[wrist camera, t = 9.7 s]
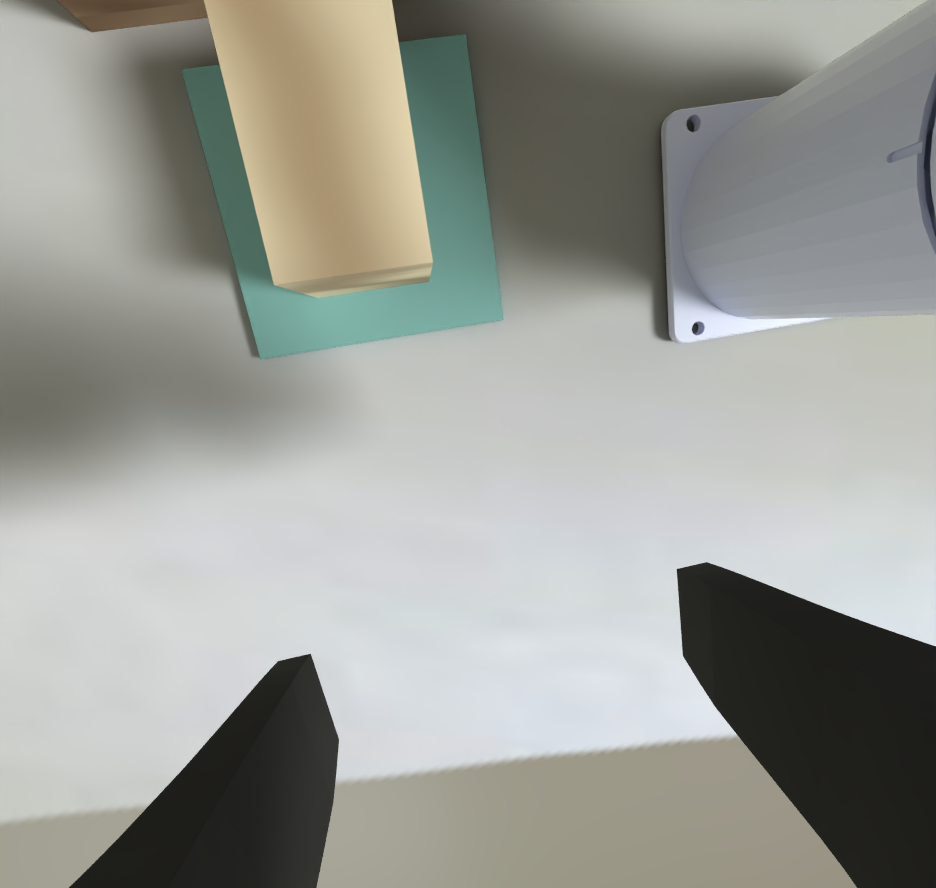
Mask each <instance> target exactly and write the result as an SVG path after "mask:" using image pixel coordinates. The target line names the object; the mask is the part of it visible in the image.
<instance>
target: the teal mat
mask: <svg viewBox="0 0 936 888" xmlns="http://www.w3.org/2000/svg"><path fill="white" fill-rule="evenodd" d="M399 49H400V55H401V61H402V68H403V74H404V81H405V87H406V93H407V100H408V106H409V112H410V119H411V125H412V131H413V138H414V144H415V151H416V157H417V163H418V170H419V176H420V182H421V189H422V195H423V201H424V208H425V214H426V221H427V227H428V233H429V240H430V246H431V252H432V259H433V265H432V270H431V275H430V280H429V282H424V283H417V284H411V285H404V286H397V287H390V288H383V289H377V290H370V291H363V292H356V293H349V294H343V295H336V296H329V297H322V298H316V297H312V296H309V295H306V294H302V293H299V292H296V291H292V290H289V289H286V288H282V287H279V286H276V285H274V283H273V279H272V275H271V271H270V267H269V263H268V258H267V254H266V250H265V246H264V242H263V238H262V234H261V230H260V226H259V222H258V218H257V214H256V210H255V206H254V202H253V198H252V194H251V190H250V185H249V181H248V177H247V173H246V169H245V165H244V161H243V157H242V153H241V149H240V145H239V141H238V137H237V133H236V129H235V125H234V121H233V116H232V112H231V108H230V104H229V100H228V96H227V92H226V88H225V84H224V80H223V76H222V72H221V68H220V64H218V65H210V66H202V67H194V68H186V69H181V71H182V75H183V78H184V82H185V86H186V89H187V93H188V97H189V100H190V104H191V108H192V111H193V115H194V118H195V122H196V126H197V129H198V133H199V137H200V140H201V144H202V148H203V151H204V155H205V159H206V162H207V166H208V169H209V173H210V177H211V180H212V184H213V188H214V191H215V195H216V199H217V202H218V206H219V210H220V213H221V217H222V221H223V224H224V228H225V231H226V235H227V239H228V242H229V246H230V250H231V253H232V257H233V261H234V264H235V268H236V272H237V275H238V279H239V282H240V286H241V290H242V293H243V297H244V301H245V304H246V308H247V312H248V315H249V319H250V323H251V326H252V330H253V334H254V337H255V341H256V344H257V348H258V352H259V355H260V359H267V358H273V357H279V356H285V355H291V354H297V353H303V352H309V351H315V350H322V349H328V348H334V347H340V346H346V345H352V344H358V343H364V342H371V341H377V340H383V339H389V338H395V337H401V336H407V335H413V334H419V333H426V332H432V331H438V330H444V329H450V328H456V327H462V326H468V325H474V324H481V323H487V322H493V321H499V320H503V312H502V305H501V297H500V290H499V282H498V274H497V267H496V259H495V252H494V244H493V236H492V229H491V221H490V214H489V206H488V198H487V191H486V183H485V176H484V168H483V160H482V153H481V145H480V138H479V130H478V122H477V115H476V107H475V100H474V92H473V84H472V77H471V69H470V62H469V54H468V46H467V39H466V34H460V35H452V36H444V37H436V38H428V39H420V40H412V41H404V42H399Z"/></svg>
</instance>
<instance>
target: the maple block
mask: <svg viewBox="0 0 936 888" xmlns="http://www.w3.org/2000/svg"><path fill="white" fill-rule="evenodd" d="M204 3H205V7H206V11H207V15H208V19H209V23H210V27H211V31H212V35H213V39H214V43H215V47H216V52H217V56H218V60H219V64H220V68H221V72H222V76H223V80H224V84H225V88H226V92H227V96H228V100H229V104H230V108H231V112H232V116H233V121H234V125H235V129H236V133H237V137H238V141H239V145H240V149H241V153H242V157H243V161H244V165H245V169H246V173H247V177H248V181H249V185H250V190H251V194H252V198H253V202H254V206H255V210H256V214H257V218H258V222H259V226H260V230H261V234H262V238H263V242H264V246H265V250H266V254H267V258H268V263H269V267H270V271H271V275H272V279H273V283H274V285H276V286H279V287H282V288H286V289H289V290H292V291H296V292H299V293H302V294H306V295H309V296H312V297H316V298H322V297H329V296H336V295H343V294H349V293H356V292H363V291H370V290H377V289H383V288H390V287H397V286H404V285H411V284H417V283H424V282H429V280H430V275H431V270H432V265H433V259H432V252H431V246H430V240H429V233H428V227H427V221H426V214H425V208H424V201H423V195H422V189H421V182H420V176H419V170H418V163H417V157H416V151H415V144H414V138H413V131H412V125H411V119H410V112H409V106H408V100H407V93H406V87H405V81H404V74H403V68H402V61H401V55H400V49H399V42H398V36H397V30H396V23H395V17H394V10H393V4H392V0H204Z"/></svg>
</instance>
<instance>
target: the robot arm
mask: <svg viewBox="0 0 936 888" xmlns="http://www.w3.org/2000/svg"><path fill="white" fill-rule="evenodd" d="M687 120H691V121H692V122H693V124H694V132H690V131H689V130H688V129H687V125H686V123H687ZM661 143H662V169H663V195H664V220H665V246H666V272H667V298H668V323H669V335H670V338H671V339H672V341H674V342H676V343H691V342H697V341H703V340H708V339H714V338H720V337H726V336H732V335H738V334H743V333H749V332H755V331H761V330H767V329H773V328H779V327H784V326H790V325H796V324H802V323H808V322H814V321H819V320H825V319H831V318H837V317H866V316H903V315H936V0H927V1H926V2H924V3H922V4H921V5H919V6H918V7H916V8H915V9H913V10H912V11H910V12H909V13H907V14H905V15H904V16H902V17H901V18H899V19H898V20H896V21H895V22H893V23H892V24H890V25H888V26H887V27H885V28H884V29H882V30H881V31H879V32H878V33H876V34H875V35H873V36H871V37H870V38H868V39H867V40H865V41H864V42H862V43H861V44H859V45H858V46H856V47H854V48H853V49H851V50H850V51H848V52H847V53H845V54H844V55H842V56H841V57H839V58H837V59H836V60H834V61H833V62H831V63H830V64H828V65H827V66H825V67H823V68H822V69H820V70H819V71H817V72H816V73H814V74H813V75H811V76H810V77H808V78H806V79H805V80H803V81H802V82H800V83H799V84H797V85H796V86H794V87H793V88H791V89H789V90H788V91H786V92H785V93H783V94H782V95H780V96H773V97H766V98H759V99H752V100H744V101H737V102H730V103H723V104H715V105H708V106H701V107H694V108H687V109H679V110H676V111H674V112H672V113H671V114H670V115H669V116H668V117H667V118H666V119H665V120H664V122H663V124H662V128H661ZM695 322H696V323H697V324H698V327H699V328H698V331H697V333H696V334H693V333H692V326H693V324H694V323H695ZM677 578H678V592H679V606H680V620H681V634H682V648H683V657H684V658H685V660H686V661H687V663H688V665H689V666H690V668H691V670H692V671H693V673H694V674H695V676H696V678H697V679H698V681H699V683H700V684H701V686H702V687H703V689H704V690H705V692H706V693H707V695H708V696H709V698H710V699H711V701H712V703H713V704H714V706H715V707H716V708H717V710H718V711H719V712H720V713H721V715H722V716H723V717H724V719H725V720H726V721H727V722H728V724H729V725H730V726H731V727H732V729H733V730H734V731H735V732H736V734H737V735H738V736H739V737H740V739H741V740H742V741H743V742H744V744H745V745H746V746H747V747H748V749H749V750H750V751H751V752H752V754H753V755H754V756H755V757H756V759H757V760H758V761H759V762H760V764H761V765H762V766H763V767H764V768H765V770H766V771H767V772H768V773H769V775H770V776H771V777H772V778H773V780H774V781H775V782H776V783H777V785H778V786H779V787H780V788H781V790H782V791H783V792H784V793H785V795H786V796H787V797H788V798H789V800H790V801H791V802H792V803H793V804H794V806H795V807H796V808H797V809H798V811H799V812H800V813H801V814H802V816H803V817H804V818H805V819H806V820H807V822H808V823H809V824H810V826H811V827H812V828H813V829H814V830H815V832H816V833H817V834H818V835H819V837H820V838H821V839H822V840H823V842H824V843H825V845H826V846H827V847H828V849H829V850H830V851H831V852H832V854H833V855H834V856H835V857H836V859H837V860H838V862H839V863H840V864H841V866H842V867H843V868H844V869H845V871H846V872H847V874H848V875H849V877H850V878H851V879H852V881H853V882H854V884H855V885H856V887H857V888H936V646H933V645H930V644H926V643H924V642H921V641H918V640H915V639H912V638H909V637H906V636H903V635H900V634H897V633H894V632H892V631H889V630H886V629H883V628H880V627H877V626H874V625H871V624H869V623H866V622H863V621H860V620H858V619H855V618H852V617H849V616H847V615H844V614H841V613H839V612H836V611H833V610H831V609H828V608H825V607H823V606H820V605H818V604H815V603H812V602H810V601H807V600H805V599H802V598H799V597H797V596H794V595H792V594H789V593H787V592H784V591H782V590H779V589H777V588H774V587H772V586H769V585H766V584H764V583H761V582H759V581H756V580H754V579H751V578H749V577H746V576H743V575H741V574H738V573H736V572H733V571H730V570H728V569H725V568H722V567H719V566H716V565H713V564H710V563H707V562H706V563H702V564H697V565H693V566H689V567H684V568H680V569H677ZM338 744H339V738H338V735H337V732H336V729H335V726H334V723H333V720H332V717H331V714H330V711H329V708H328V705H327V702H326V699H325V696H324V693H323V690H322V687H321V684H320V681H319V678H318V675H317V672H316V669H315V666H314V663H313V660H312V657H311V654H308V655H303V656H299V657H295V658H290V659H286V660H282V661H278V662H277V663H276V664H275V665H274V666H273V667H272V668H271V669H270V670H269V672H268V673H267V674H266V675H265V676H264V677H263V678H262V679H261V680H260V682H259V683H258V684H257V685H256V686H255V687H254V688H253V690H252V691H251V692H250V693H249V694H248V695H247V697H246V698H245V699H244V700H243V701H242V702H241V704H240V705H239V706H238V707H237V708H236V709H235V711H234V712H233V713H232V714H231V715H230V716H229V717H228V719H227V720H226V721H225V722H224V723H223V724H222V725H221V727H220V728H219V729H218V730H217V731H216V732H215V733H214V735H213V736H212V737H211V738H210V739H209V740H208V741H207V743H206V744H205V745H204V746H203V747H202V748H201V749H200V751H199V752H198V753H197V754H196V755H195V756H194V757H193V759H192V760H191V761H190V762H189V763H188V764H187V765H186V766H185V768H184V769H183V770H182V771H181V772H180V773H179V774H178V775H177V776H176V777H175V778H174V779H173V780H172V782H171V783H170V784H169V785H168V786H167V787H166V788H165V789H164V790H163V791H162V792H161V793H160V794H159V795H158V797H157V798H156V799H155V800H154V801H153V802H152V803H151V804H150V805H149V806H148V807H147V808H146V809H145V810H144V812H143V813H142V814H141V815H140V816H139V817H138V818H137V819H136V820H135V821H134V822H133V823H132V824H131V826H130V827H129V828H128V829H127V830H126V831H125V832H124V833H123V834H122V835H121V836H120V837H119V838H118V839H117V840H116V841H115V842H114V843H113V844H112V845H111V846H110V847H109V848H108V849H107V851H106V852H105V853H104V854H103V855H102V856H101V857H100V858H99V859H98V860H97V861H96V862H95V863H94V864H93V865H92V866H91V867H90V868H89V869H88V870H87V871H86V872H85V873H84V874H83V875H82V876H81V877H80V878H79V879H77V881H75V883H73V884H72V885H71V886H70V887H69V888H316V887H317V881H318V876H319V872H320V867H321V862H322V857H323V852H324V847H325V842H326V836H327V831H328V827H329V821H330V816H331V811H332V805H333V798H334V789H335V779H336V769H337V756H338Z"/></svg>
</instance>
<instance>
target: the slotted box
mask: <svg viewBox="0 0 936 888" xmlns="http://www.w3.org/2000/svg"><path fill="white" fill-rule="evenodd" d="M57 1H58V2H59V3H60V4H61V5H63V6H64V7H65V8H66V9H67V10H68V11H69V12H70V13H71V14H72V15H74V16H75V17H76V18H77V19H78V20H79V21H80V22H81V23H82V24H83V25H85V26H86V27H87V28H88V29H89V30H90V31H91V32H98V31H106V30H114V29H122V28H130V27H138V26H146V25H154V24H162V23H169V22H177V21H185V20H193V19H201V18H208V15H207V11H206V7H205V3H204V0H57Z"/></svg>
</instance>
